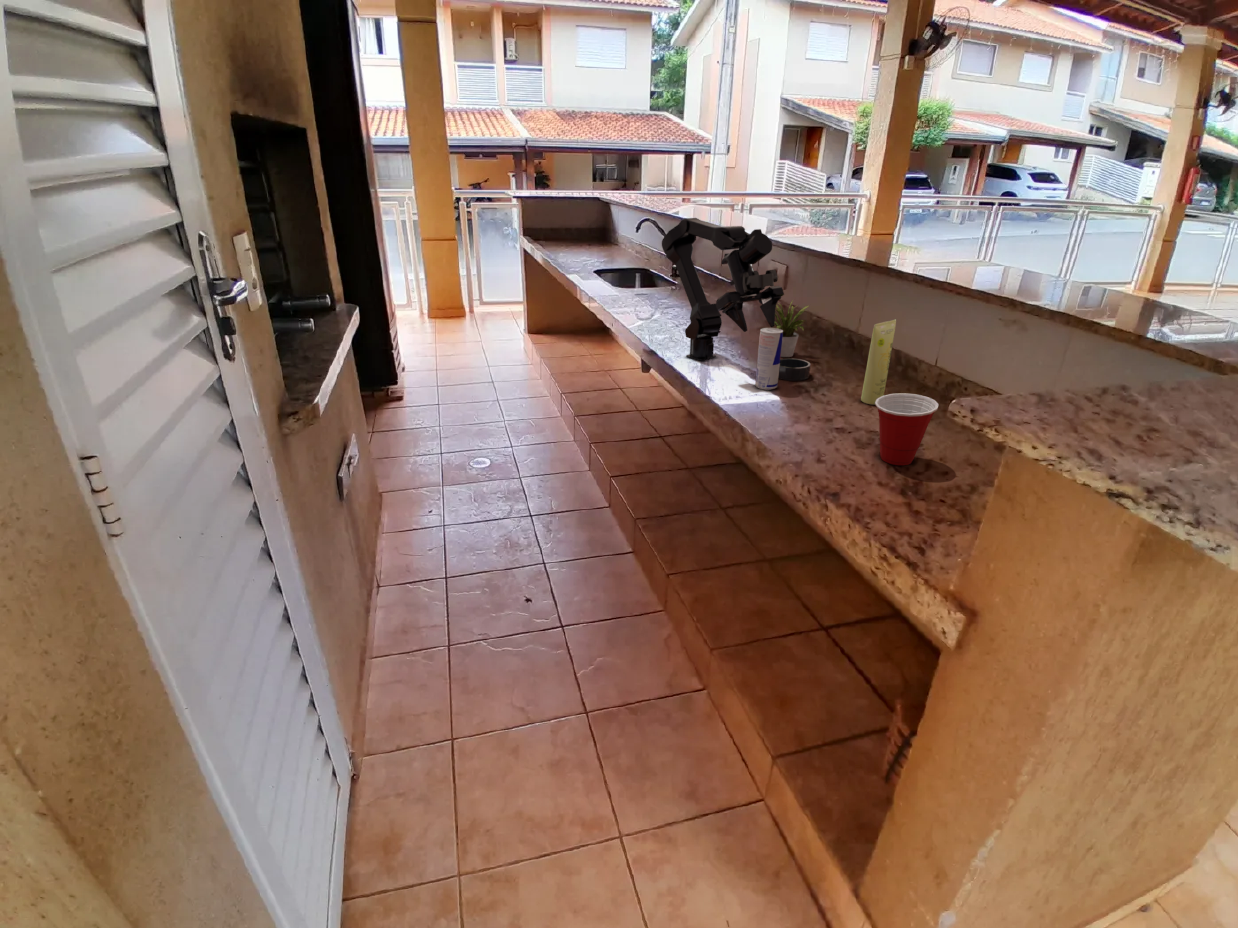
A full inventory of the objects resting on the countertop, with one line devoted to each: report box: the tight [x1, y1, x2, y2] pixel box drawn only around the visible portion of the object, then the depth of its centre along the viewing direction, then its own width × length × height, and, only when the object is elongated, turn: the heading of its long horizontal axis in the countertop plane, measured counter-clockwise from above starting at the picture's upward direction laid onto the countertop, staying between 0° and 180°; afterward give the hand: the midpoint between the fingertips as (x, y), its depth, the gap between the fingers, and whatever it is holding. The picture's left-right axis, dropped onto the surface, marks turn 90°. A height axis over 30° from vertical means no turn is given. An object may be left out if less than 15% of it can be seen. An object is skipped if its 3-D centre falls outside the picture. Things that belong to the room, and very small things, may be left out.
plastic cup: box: [875, 392, 940, 466], centre depth 117 cm, size 11×11×12 cm
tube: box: [860, 318, 897, 406], centre depth 144 cm, size 6×5×20 cm
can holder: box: [778, 357, 812, 382], centre depth 167 cm, size 9×9×4 cm
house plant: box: [775, 300, 810, 358], centre depth 183 cm, size 14×14×16 cm
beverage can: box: [754, 327, 783, 391], centre depth 156 cm, size 6×6×15 cm
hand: (759, 329), depth 160 cm, fingers open, 9 cm apart
